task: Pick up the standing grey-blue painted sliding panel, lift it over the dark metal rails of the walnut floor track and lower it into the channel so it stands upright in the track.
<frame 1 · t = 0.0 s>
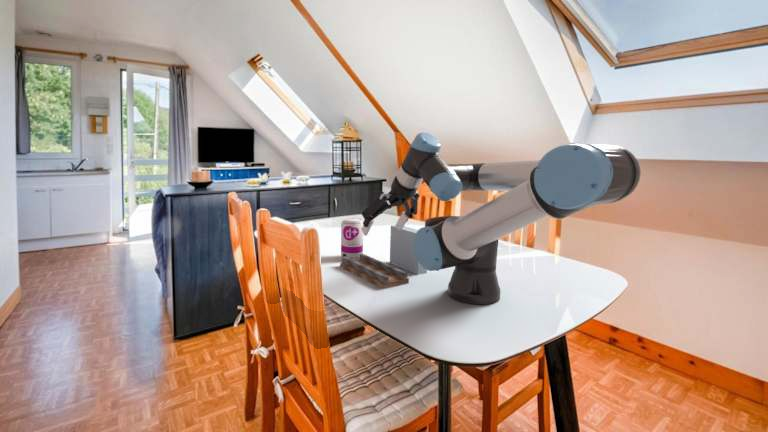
hand: (381, 230, 133), 15 cm above the table, tool tilted 35°, fingers open, 13 cm apart
supplement can: (351, 258, 154), on the table
sliding panel: (407, 267, 145), on the table
letter holder: (450, 251, 169), on the table
floor track: (372, 274, 136), on the table
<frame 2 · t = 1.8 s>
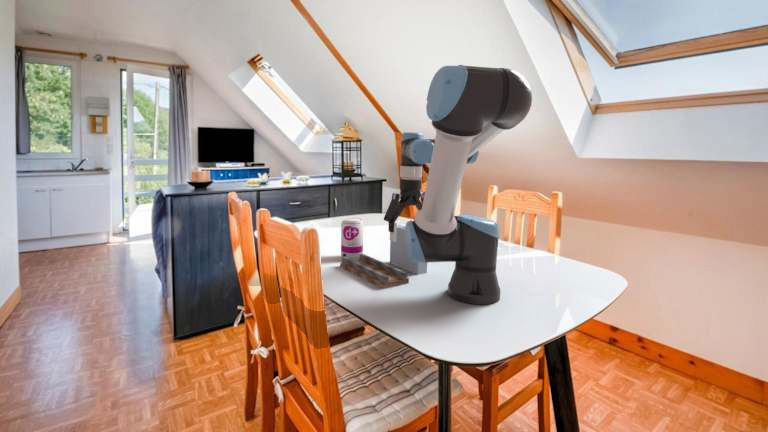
hand: (408, 238, 143), 10 cm above the table, tool pointing down, fingers open, 13 cm apart
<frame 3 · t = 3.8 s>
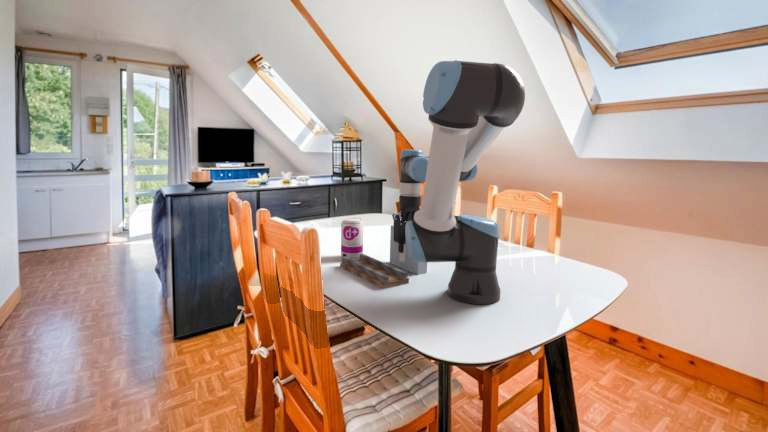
hand: (407, 260, 144), 3 cm above the table, tool pointing down, fingers closed on sliding panel, 4 cm apart
sliding panel: (407, 267, 145), on the table, touching gripper
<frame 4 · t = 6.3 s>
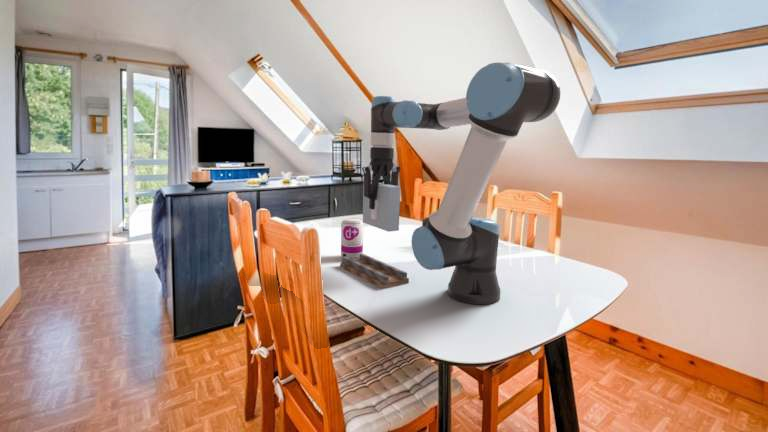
hand: (380, 218, 135), 19 cm above the table, tool pointing down, fingers closed on sliding panel, 4 cm apart
sliding panel: (379, 226, 135), point 16 cm above the table, touching gripper
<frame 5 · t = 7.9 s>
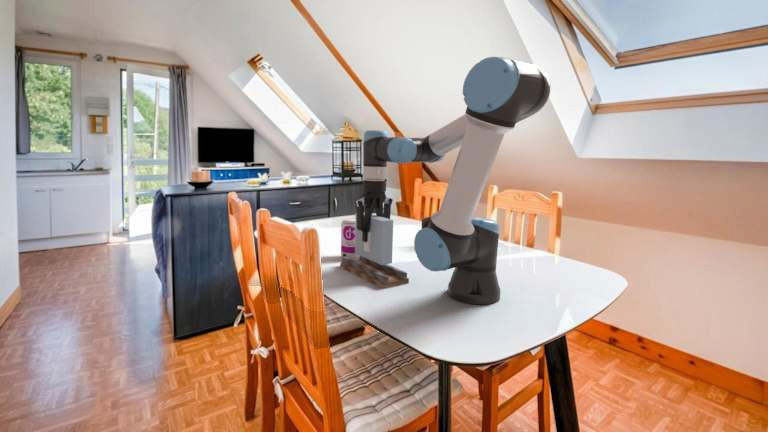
hand: (373, 250, 135), 8 cm above the table, tool pointing down, fingers closed on sliding panel, 4 cm apart
sliding panel: (372, 257, 135), point 6 cm above the table, touching gripper
when the fingers open (5 cm above the table, at t = 9.1 s): sliding panel stays where it is, resting on floor track.
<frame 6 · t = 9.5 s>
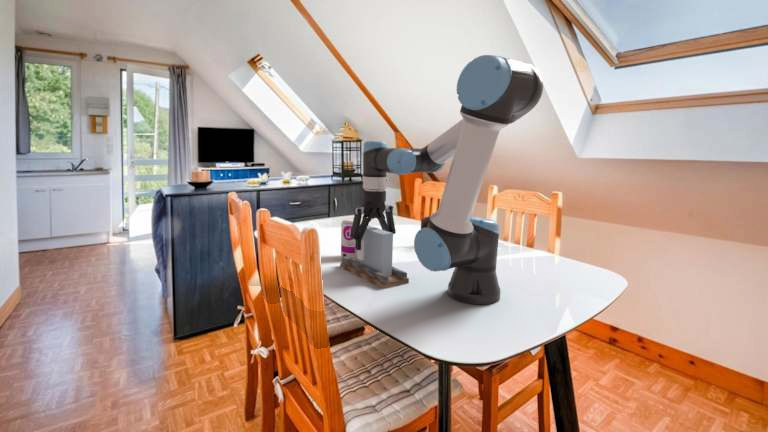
hand: (372, 257, 135), 6 cm above the table, tool pointing down, fingers open, 9 cm apart
sliding panel: (372, 270, 136), point 1 cm above the table, touching floor track
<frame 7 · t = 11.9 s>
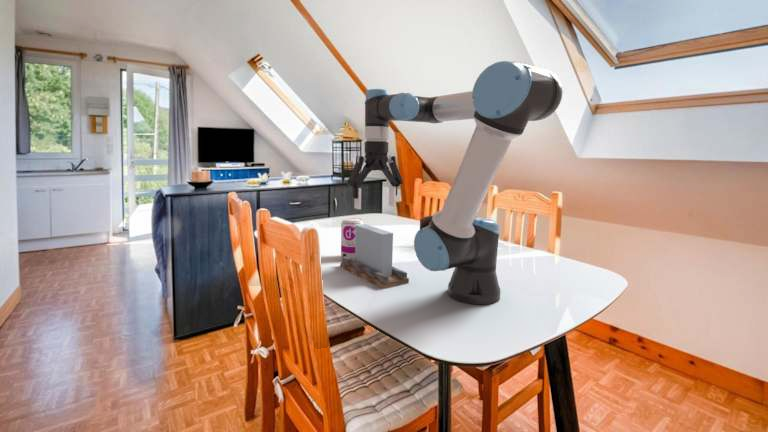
hand: (375, 207, 132), 23 cm above the table, tool pointing down, fingers open, 13 cm apart
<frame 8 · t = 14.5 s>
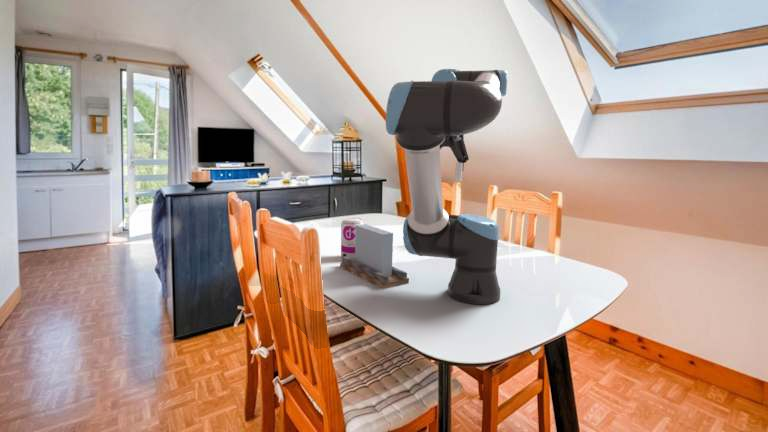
hand: (444, 181, 140), 31 cm above the table, tool pointing down, fingers open, 13 cm apart
at the end: sliding panel inside the target area on the floor track (0.0 cm from its centre), point 1.5 cm above the floor track's base; sliding panel tilted 0°; the gripper is holding nothing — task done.
